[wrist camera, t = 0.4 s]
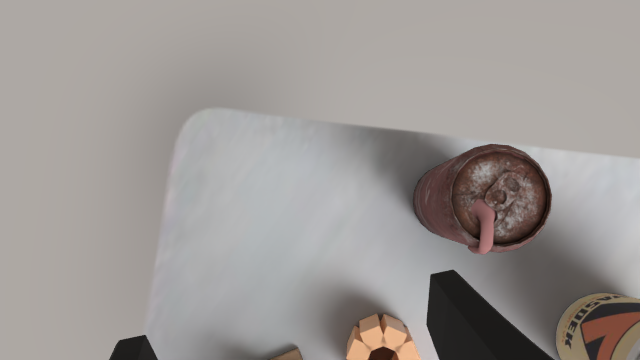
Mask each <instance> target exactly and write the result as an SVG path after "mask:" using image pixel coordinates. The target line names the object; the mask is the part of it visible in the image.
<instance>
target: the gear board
mask: <svg viewBox="0 0 640 360" xmlns="http://www.w3.org/2000/svg"><path fill="white" fill-rule="evenodd" d="M269 360H303V359H302V356H301V354H300V351H299V349H298V348H296V349H294V350H291V351H289V352H286V353H284V354H281V355H279V356H276V357H274V358H271V359H269Z"/></svg>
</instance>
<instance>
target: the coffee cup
mask: <svg viewBox="0 0 640 360" xmlns="http://www.w3.org/2000/svg"><path fill="white" fill-rule="evenodd" d="M556 346H557V351H558V354H559V356H560V359H561V360H640V299H636V298H631V297H627V296H622V295H616V294H609V293H597V294H591V295H588V296H585V297H582V298H580V299H578V300H577V301H575V302H574V303H573V304H571V305H570V306H569V307H568V308H567V309H566V311H565V312H564V313H563V315H562V317H561V318H560V321H559V323H558V326H557V331H556Z"/></svg>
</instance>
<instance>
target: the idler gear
mask: <svg viewBox="0 0 640 360" xmlns="http://www.w3.org/2000/svg"><path fill="white" fill-rule="evenodd" d="M359 325H360V328H359V327H357V326H355V325H354V328H353V330H352V333H351V335H350V337H349V340H348V342H347V355H346V359H347V360H372V359H370V358H369V355H370V353H371V351H372V350H375V349H377V348H380V347H382V346H385V347H387V348H389V349H391V350H394V351H395V352H394V355H393V357H392V359H390V360H421V359H420V356H419V354H418V351H417V349H416V347H415V344H414V342H413V340H412V337H411V335H410V333H409V330H408V328H407V327H404V326H403V323H402V321H400V320H397V319H395V318H393V317H391V316H388V315H386V314H384V315H383V317H382V320H381V322H380V320H379V317H378V315H377V314H374V315H372V316H369V317H367V318H364V319H362V320H359Z"/></svg>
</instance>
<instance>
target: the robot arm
mask: <svg viewBox="0 0 640 360" xmlns="http://www.w3.org/2000/svg"><path fill="white" fill-rule="evenodd" d="M426 325H427V327H428V330H429V333H430V336H431V338H432V341H433V344H434V347H435V349H436V352H437V354H438V357H439V360H554V359H553V358H552V357H550V356H549V355H548V354H547V353H545V352H544V351H543V350H542V349H540V348H539V347H538V346H537V345H536V344H534V343H533V342H532V341H531V340H530V339H528V338H527V337H526V336H525V335H524V334H523V333H522V332H520V331H519V330H518V329H517V328H516V327H515V326H513V325H512V324H511V323H510V322H509V321H508V320H507V319H506V318H504V317H503V316H502V315H501V314H500V313H499V312H498V311H497V310H496V309H495V308H493V307H492V306H491V305H490V304H489V303H488V302H487V301H486V300H485V299H484V298H483V297H482V296H481V295H480V294H479V293H478V292H476V291H475V290H474V289H473V288H472V287H471V286H470V285H469V284H468V283H467V282H466V281H465V280H464V279H463V278H462V277H461V276H460V275H459V274H458V273H457V272H456V271H454V270H449V271H444V272H440V273H435V274H431V276H430V288H429V300H428V312H427V324H426ZM109 360H158V359H157V357H156V355H155V353H154V351H153V349H152V347H151V345H150V343H149V341H148V339H147V337H146V335H142V336H137V337H133V338H128V339H123V340H120V341H119V342H118V343H117V344H116V346H115V348H114V351H113V353H112V355H111V357H110V359H109Z"/></svg>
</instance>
